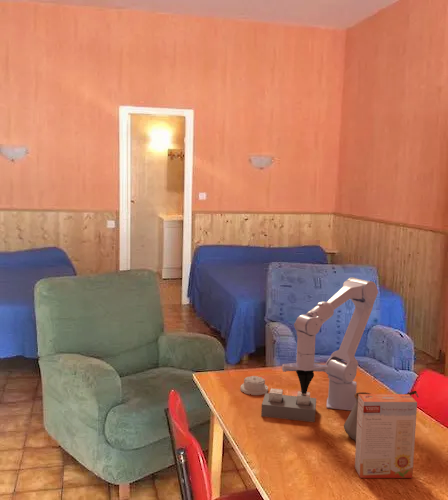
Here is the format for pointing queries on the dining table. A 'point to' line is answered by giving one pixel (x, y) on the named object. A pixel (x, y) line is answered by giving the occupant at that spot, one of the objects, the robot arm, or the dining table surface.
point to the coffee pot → (351, 421)
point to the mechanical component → (254, 386)
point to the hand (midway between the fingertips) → (303, 392)
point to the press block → (289, 409)
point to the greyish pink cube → (275, 395)
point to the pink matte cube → (303, 398)
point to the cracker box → (385, 435)
